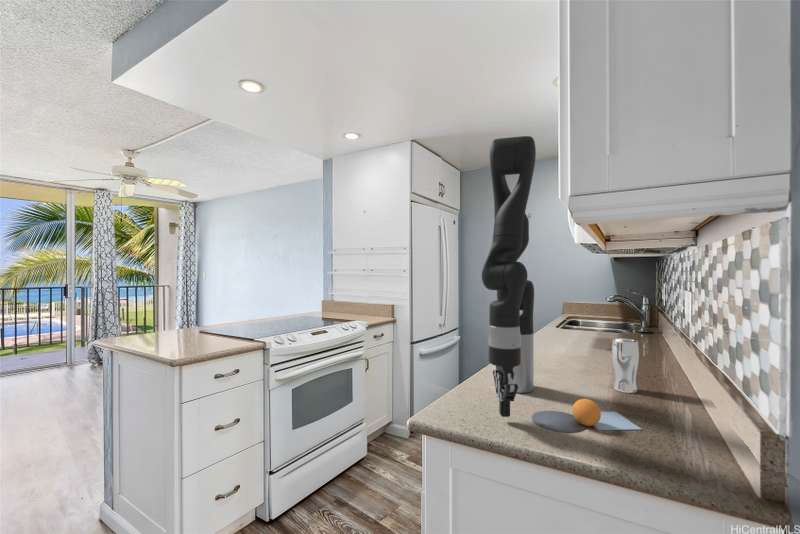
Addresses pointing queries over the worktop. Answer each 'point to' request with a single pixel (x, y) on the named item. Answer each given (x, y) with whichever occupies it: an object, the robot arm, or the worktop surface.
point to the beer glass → (625, 364)
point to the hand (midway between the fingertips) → (504, 415)
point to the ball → (586, 412)
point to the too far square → (614, 422)
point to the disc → (557, 421)
